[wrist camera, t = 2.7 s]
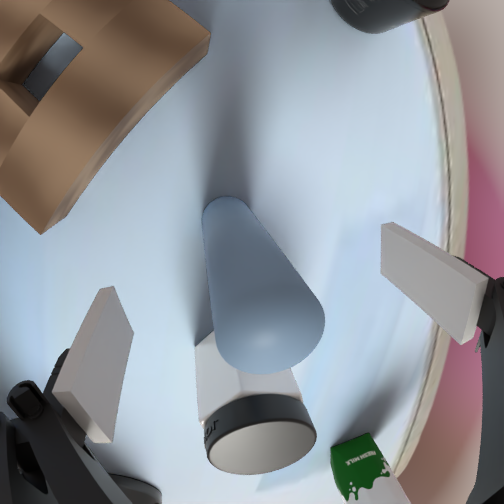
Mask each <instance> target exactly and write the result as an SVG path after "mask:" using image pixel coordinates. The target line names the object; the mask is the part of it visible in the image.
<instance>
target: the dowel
mask: <svg viewBox="0 0 504 504" xmlns="http://www.w3.org/2000/svg"><path fill="white" fill-rule="evenodd" d="M202 230H203V240H204V250H205V260H206V269H207V278H208V286H209V294H210V303H211V311H212V318H213V326H214V333H215V340H216V346H217V349H218V351H219V353H220V355H221V356H222V358H223V359H224V360H225V361H226V362H227V363H228V364H229V365H231V366H232V367H234V368H236V369H238V370H240V371H243V372H246V373H251V374H271V373H277V372H280V371H283V370H286V369H289V368H291V367H293V366H295V365H296V364H298V363H299V362H301V361H302V360H304V359H305V358H306V357H307V356H308V355H309V354H310V353H311V352H312V351H313V350H314V349H315V347H316V346H317V344H318V343H319V341H320V339H321V337H322V334H323V331H324V327H325V315H324V311H323V308H322V306H321V304H320V302H319V301H318V299H317V298H316V296H315V295H314V294H313V292H312V291H311V290H310V288H309V287H308V286H307V284H306V283H305V282H304V280H303V279H302V278H301V276H300V275H299V274H298V272H297V271H296V270H295V268H294V267H293V266H292V264H291V263H290V262H289V260H288V259H287V258H286V256H285V255H284V254H283V252H282V251H281V250H280V248H279V247H278V246H277V244H276V243H275V242H274V240H273V239H272V238H271V236H270V235H269V234H268V232H267V231H266V230H265V229H264V227H263V226H262V225H261V223H260V222H259V221H258V219H257V218H256V217H255V216H254V214H253V213H252V212H251V210H250V209H249V208H248V206H247V205H246V204H245V203H244V202H243V201H241V200H240V199H238V198H235V197H231V196H224V197H219V198H217V199H215V200H213V201H212V202H211V203H209V204H208V206H207V207H206V208H205V210H204V212H203V215H202Z"/></svg>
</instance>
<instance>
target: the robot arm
mask: <svg viewBox="0 0 504 504" xmlns="http://www.w3.org/2000/svg"><path fill="white" fill-rule="evenodd" d="M381 274H382V275H383V276H384V277H385V278H387V279H388V280H389V281H390V282H391V283H393V284H394V285H395V286H396V287H397V288H398V289H399V290H401V291H402V292H403V293H404V294H405V295H406V296H407V297H409V298H410V299H411V300H412V301H413V302H414V303H415V304H417V305H418V306H419V307H420V308H421V309H422V310H423V311H424V312H425V313H427V314H428V315H429V316H430V317H431V318H432V319H433V320H434V321H435V322H436V323H438V324H439V325H440V326H441V327H442V328H443V329H444V330H445V331H446V332H447V333H448V334H449V335H450V336H451V337H453V338H454V339H455V340H456V341H457V342H458V343H459V344H460V345H462V344H464V343H465V342H467V341H469V340H470V339H472V338H473V336H474V333H475V330H476V326H478V327H479V328H480V329H481V330H482V331H481V334H480V337H479V340H478V343H477V346H476V349H475V352H477V351H478V349H479V347H480V346H481V359H482V381H483V412H482V413H483V414H482V433H481V445H480V455H479V463H478V471H477V477H476V482H475V485H474V488H473V490H472V492H471V494H470V495H469V498H468V500H467V502H466V504H504V277H500V278H497V279H496V280H494V279H493V278H491V277H490V276H488V275H487V274H485V273H483V272H482V271H481V270H479V269H477V268H474V266H473V265H471V264H468V262H466V261H464V260H463V259H461V258H459V257H456V256H453V255H451V254H449V253H447V252H446V251H444V250H442V249H441V248H439V247H437V246H435V245H434V244H432V243H430V242H429V241H427V240H425V239H423V238H421V237H420V236H418V235H416V234H414V233H412V232H411V231H409V230H407V229H405V228H403V227H401V226H400V225H398V224H396V223H394V222H391V223H387V224H382V225H381ZM133 335H134V332H133V330H132V328H131V326H130V323H129V321H128V319H127V317H126V314H125V312H124V310H123V307H122V305H121V303H120V300H119V298H118V295H117V293H116V290H115V288H114V286H111V287H107V288H102V289H100V290H99V291H98V293H97V295H96V297H95V299H94V301H93V303H92V305H91V307H90V309H89V311H88V313H87V315H86V317H85V319H84V321H83V323H82V325H81V327H80V329H79V331H78V333H77V335H76V337H75V339H74V341H73V344H72V346H71V348H69V349H66V350H65V351H64V352H63V353H62V354H61V355H60V356H59V358H58V360H57V362H56V364H55V368H54V369H53V371H52V373H51V374H52V375H50V378H49V380H48V382H47V385H46V387H45V389H44V392H43V393H42V392H41V391H40V389H39V388H38V387H37V385H36V384H35V383H34V382H33V381H30V380H27V381H22V382H20V383H18V384H17V385H16V386H14V387H13V388H12V390H11V391H10V392H9V394H8V397H7V404H8V405H9V406H10V408H11V409H12V410H13V411H14V412H15V413H16V415H17V416H18V417H19V418H16V419H12V420H9V419H8V418H7V417H6V416H5V414H4V413H3V412H0V504H162V495H161V493H160V492H159V491H158V490H157V489H156V488H154V487H152V486H150V485H148V484H146V483H144V482H141V481H138V480H135V479H131V478H127V477H123V476H118V475H111V474H108V473H107V472H106V471H105V469H104V468H103V467H102V465H101V464H100V462H99V461H98V460H97V458H96V457H95V456H94V454H93V453H92V451H91V450H90V448H89V447H88V446H87V445H86V444H85V443H84V441H85V436H86V435H87V436H88V437H89V438H90V439H91V440H92V441H93V442H94V443H113V436H114V429H115V423H116V417H117V411H118V406H119V400H120V395H121V390H122V385H123V380H124V375H125V370H126V366H127V361H128V356H129V352H130V348H131V343H132V339H133Z"/></svg>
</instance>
